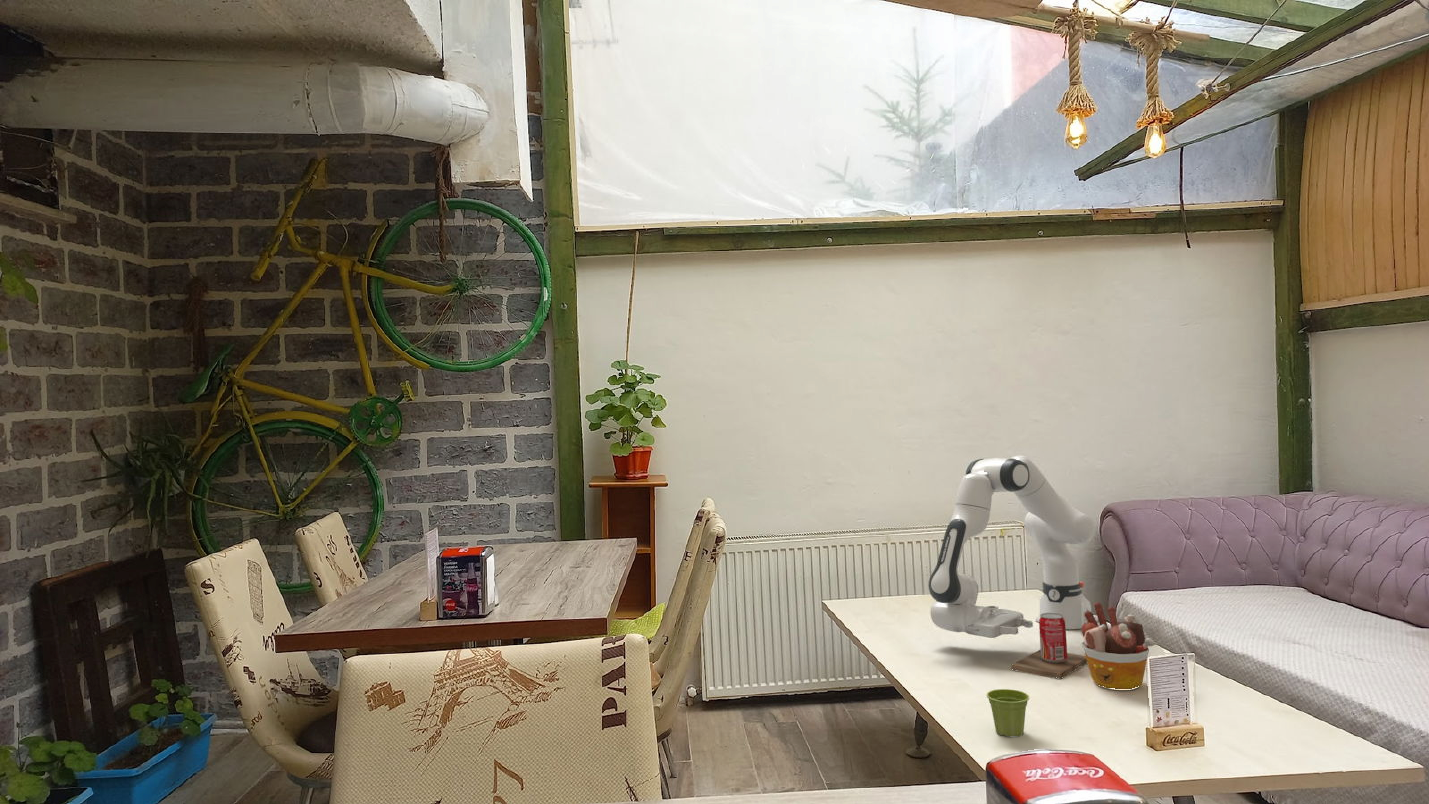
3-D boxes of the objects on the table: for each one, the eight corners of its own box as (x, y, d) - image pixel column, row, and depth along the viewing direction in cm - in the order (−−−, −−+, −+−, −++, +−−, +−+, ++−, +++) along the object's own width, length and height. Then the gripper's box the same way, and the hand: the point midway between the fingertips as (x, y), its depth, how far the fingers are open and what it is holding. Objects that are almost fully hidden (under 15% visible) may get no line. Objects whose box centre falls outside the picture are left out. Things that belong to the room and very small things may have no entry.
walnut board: (1042, 653, 260) (1042, 648, 260) (1089, 661, 250) (1089, 656, 250) (1011, 669, 246) (1011, 664, 246) (1060, 679, 236) (1059, 673, 236)
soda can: (1073, 662, 245) (1070, 616, 245) (1051, 665, 243) (1049, 619, 243) (1056, 655, 252) (1054, 611, 252) (1035, 658, 250) (1033, 613, 250)
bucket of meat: (1166, 695, 220) (1162, 617, 220) (1101, 697, 220) (1097, 619, 220) (1129, 671, 240) (1126, 599, 240) (1070, 673, 240) (1066, 602, 240)
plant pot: (981, 726, 204) (980, 690, 204) (1020, 723, 205) (1018, 687, 205) (998, 741, 195) (996, 703, 195) (1038, 738, 195) (1036, 700, 195)
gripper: (963, 617, 255) (1007, 624, 246) (996, 604, 270) (1039, 610, 260) (964, 638, 255) (1008, 646, 246) (997, 624, 270) (1040, 631, 260)
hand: (1024, 628), depth 253 cm, fingers open, 8 cm apart
